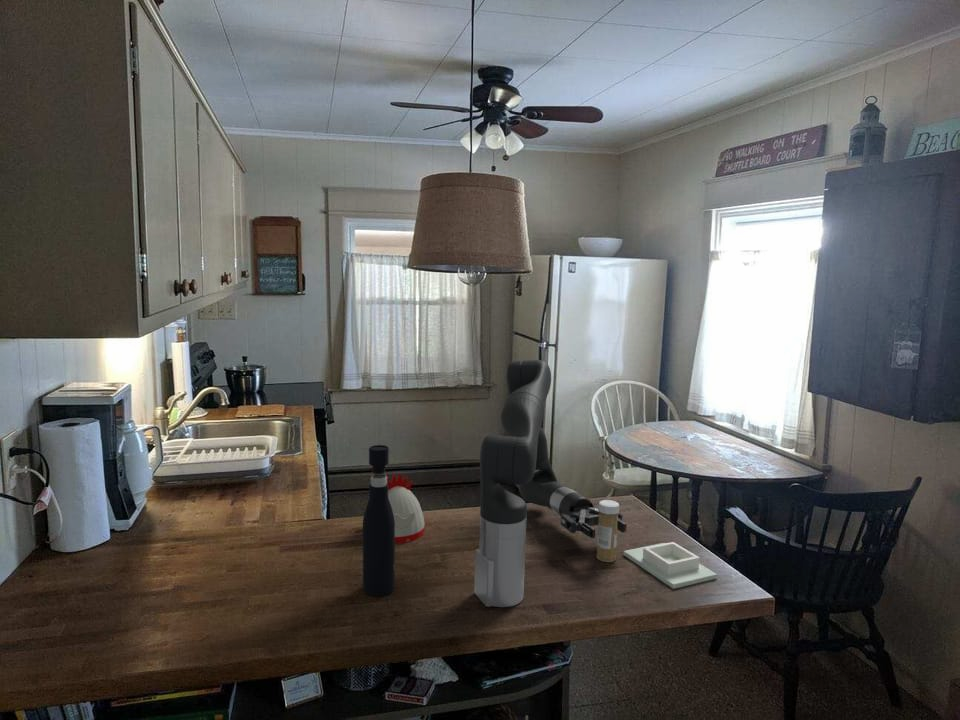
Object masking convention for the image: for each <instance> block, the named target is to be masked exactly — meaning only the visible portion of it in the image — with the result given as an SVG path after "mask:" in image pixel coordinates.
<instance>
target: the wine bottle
mask: <svg viewBox="0 0 960 720" xmlns="http://www.w3.org/2000/svg"><path fill="white" fill-rule="evenodd" d="M389 448H390V447H389V446H387V445H382V444H377V445H375V444H374V445H372V446H369V448H368V464H369V465H370V466H371V467H372V471H371V473H372V475H371V476H370V484H369V487H368V488H369V494H368V501H367V504H366V506H365V510H364V514H363V520H362V590H363V591H362V592H363V593H364V594H365V595H367V596H371V597H385V596H388V595H390V594H391V593H393V592H394V591H395V566H396V565H395V564H396V563H395V561H396V560H395V559H396V557H395V555H396V553H395V551H396V550H395V548H396V547H395V546H396V543H395V521H394V515H393V510H392V507H391V504H390V501H389V498H388V484H387V477H388V476H387V477H386V475H387V474H386V466H388V465H389V463H390V462H389V458H390V455H389V453H390V451H389Z"/></svg>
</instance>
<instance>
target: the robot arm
mask: <svg viewBox="0 0 960 720" xmlns="http://www.w3.org/2000/svg"><path fill="white" fill-rule="evenodd" d="M551 385H552V371H551V368H550V366H549V364H548V363H547V362H546V361H545V360H542V359H535V360H534V359H533V360H532V359H531V360H517V361H511V362H509V364H508V366H507V369H506V386H507V391H508V395H509V396H508V397H507V398H506V400H505V402H504V404H503V407H502V410H501V414H500V423H501V426H502V428H503V431H504V432H505V433H506V434H507V436H506V435H494V434H493V435H491V434H490V435H486V436H485V437H484V438H483V440H482V442H481V445H480V454H479V468H480V469H479V474H480V476H479V477H480V509H479V511H480V514H479V515H480V516H479V544H478V545H479V548H476V549H475V551H474V552H475V555H474V587H473V588H474V590H473V591H474V594H475V596H476V597H477V598H478V599H479V600H480V602H482V604H483V605H484V606H485V607H488V608H490V607H496V608H509V607H514V606H516V605H518V604H520V603H521V602H522V601H523V599H524V589H525V566H526V565H525V564H526V562H525V561H526V542H527V538H526V537H527V516H528V515H527V511H528V504H527V503H526V502H529V503H530V504H533V505H537V506H541V507H546V508H548V509H549V510H551V511H552V512H554V513H555V514H556V516H558V517H559V518H560V525H561V526H562V527H563V528H564V529H566V530H567V531H568V532H570V533H571V534H576V533H577V532H578V533H579V534H583V535H585V536H586V537H589V538H591V539H595V538H596V529H595V528H594V527H593V526H598V522H599V508H597V507H595V505H594V504H593V502H592V501H591V500H590V499H589V498H587V497H586V496H584V495H582V494H581V493H579V492H577V491H575V490H574V489H572V488H569V487H568V486H565V485H564V484H562V483H560V482H558V479H557V476H556V474H555V472H554V470H553V467H552V464H551V461H550V458H549V450H548V440H547V436H546V433H545V431H544V430H543V427H542V424H543V418H544V414H545V413H544V412H545V403H546V400H547V398H548V395H549V392H550V389H551ZM502 484H503V485H504V484H505V485H517V486H518V491H519V493H520V495H521V497H520V496H518V495H516V494H514V493H513V492H510V491H508V490H507V489H506V488H504V487H503V486H502ZM627 526H628V525H627V523H626V522H624V521H623V513H621V512H620V511H619V512H618V520H617V531H620V533H626V532H627Z"/></svg>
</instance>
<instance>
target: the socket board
mask: <svg viewBox="0 0 960 720" xmlns="http://www.w3.org/2000/svg"><path fill="white" fill-rule="evenodd" d="M623 556H625V557H626V558H627V559H629V560H630V561H632V562H633V563H635V564H636V565H638V566H639V567H641V568H642V569H643V570H645V571H646V572H647V573H650V574H651V576H654V578H655V577H656V578H657V579H658V580H659V581H662V583H664V584H665V585H667V586H668V587H670V588H671V589H672V590H674V589H679V588H684V587H687V586H690V585H691V586H692V585H696V584H699V583H704V582H709V581H712V580H716V579H718V573H716V572H714V571H712V570H711V569H709V568H707V567H706V566H704V565H703V564H701V563H700V559H701V558H700V556H698V555H696V554H695V553H692V552H691V551H690V550H687V549H686V548H684V547H682V546H681V545H680V544H677V543H676V542H674V541H671V542H667V543H666V542H660V543H656V544H651V545H646V546H641V547H637V548H632V549H628V550H623Z"/></svg>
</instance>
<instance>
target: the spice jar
mask: <svg viewBox="0 0 960 720" xmlns="http://www.w3.org/2000/svg"><path fill="white" fill-rule="evenodd" d="M598 509H599V522H598V525H597V538H596V539H597V543H596V544H597V549H596V556H595V557H596V559H597V560H598V561H600V562H603V563H613V562H615V561H616V560H617V556H616V554H617V543H618V529H617V520H618V512H620V504H619V502H617V501H615V500H611V499H604V500H600V501H599V502H598Z"/></svg>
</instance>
